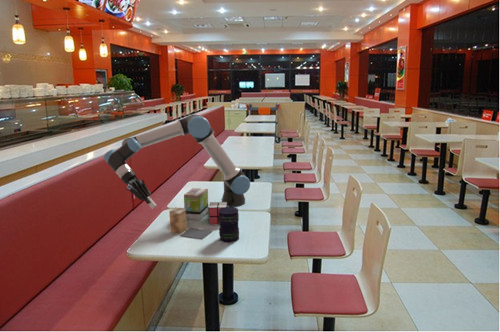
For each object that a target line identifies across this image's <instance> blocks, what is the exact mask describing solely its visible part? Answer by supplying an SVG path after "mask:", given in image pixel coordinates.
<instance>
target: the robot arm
mask: <svg viewBox="0 0 500 332" xmlns="http://www.w3.org/2000/svg"><path fill="white" fill-rule="evenodd" d="M214 133H215V132H214V129H213V128H212V126H211V124H210V121H208V119H207V118H205V116H202V115H199V114H191V115H188V116H186V117H184V118H181V119H179V120H177V122H174V123H171V124H168V125H165V126H162V127H160V128H156V129H153V130H150V131H147V132H144V133H142V134H138V135H135V136H132V137H126V138H124V139H123V140H122V142H121V146H120V147H119V148H118V149H116V150H115V149H114V148H112V149H110V150H108V151H107V152H105V154H104V155H103V159H104V161H105V162H106V163H107V165H108V166H109V168H111V170H112V171H113V172H114V173H115V174H116V175H117V177H119V178H120V179H121V181H122V182H123V183H124V184H125V185H127V186H126V187H125V188H126V190H127V191H129V192H130V193H131V194H132V195H134V196H135V197H136V198H137V199H139V201H142V202H145V203H146V204H147V205H148V206H149V207H150V208H151V209H152V210H154V209H155V208H156V207H157V206H158V204H156V202H155V201H154V200H153V199H152V197H151V195H152V193H151V192H150V190H149V188H148V187H147V185H146V184H145V180H144V179H142V180H140V178H138V177H137V174H136V173H135V171H134V170H133V169H132V168H131V166H129V165H128V163H127V161H128V160H129V159H130V158H131V157H133V156H134V155H135V154H136V153H138V152H139V151H140V150H141V149H143V148H145V147H148V146H151V145H155V144H157V143H160V142H164V141H166V140H170V139H172V138H176V137H178V136H186V135H191V136H192V138H193V139H194V140H195V142H196V144H199V145H202V147H203V148H204V150H205V151H206V153H207V154H208V155H209V157H210V158H211V160H212V161H213V163H214V164H215V165H216V166H217V167H218V169H219V171H220V173H222V175H223V178H222V179H223V194H222V198H221V202H228V207H239V206H242V205H245V204H246V197H245V194H247V192H248V191H249V190H250V187H251V181H250V179H249V177H247V176H246V175H245V173H244V172H243V169H242V167H241V166H240V167H239V166H236V165H235V163H234V162H233V161H232V160H231V158H230V157H229V155H228V154H227V152H226V151H225V149H224V148H223V146H222V145H221V144H220V142H219V141H218V139H217V138H216V137H215V135H214Z"/></svg>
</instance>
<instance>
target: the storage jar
mask: <svg viewBox="0 0 500 332" xmlns="http://www.w3.org/2000/svg"><path fill="white" fill-rule="evenodd" d="M239 217H240V216H239V209H238V208H237V207H235V206H228V207H225V208H221V209H219V222H220V225H219V235H218V236H219V240H220V241H221V242H222V243H228V244H229V243H235V242H237V241H239V240H240V227H239V220H240V218H239Z"/></svg>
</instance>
